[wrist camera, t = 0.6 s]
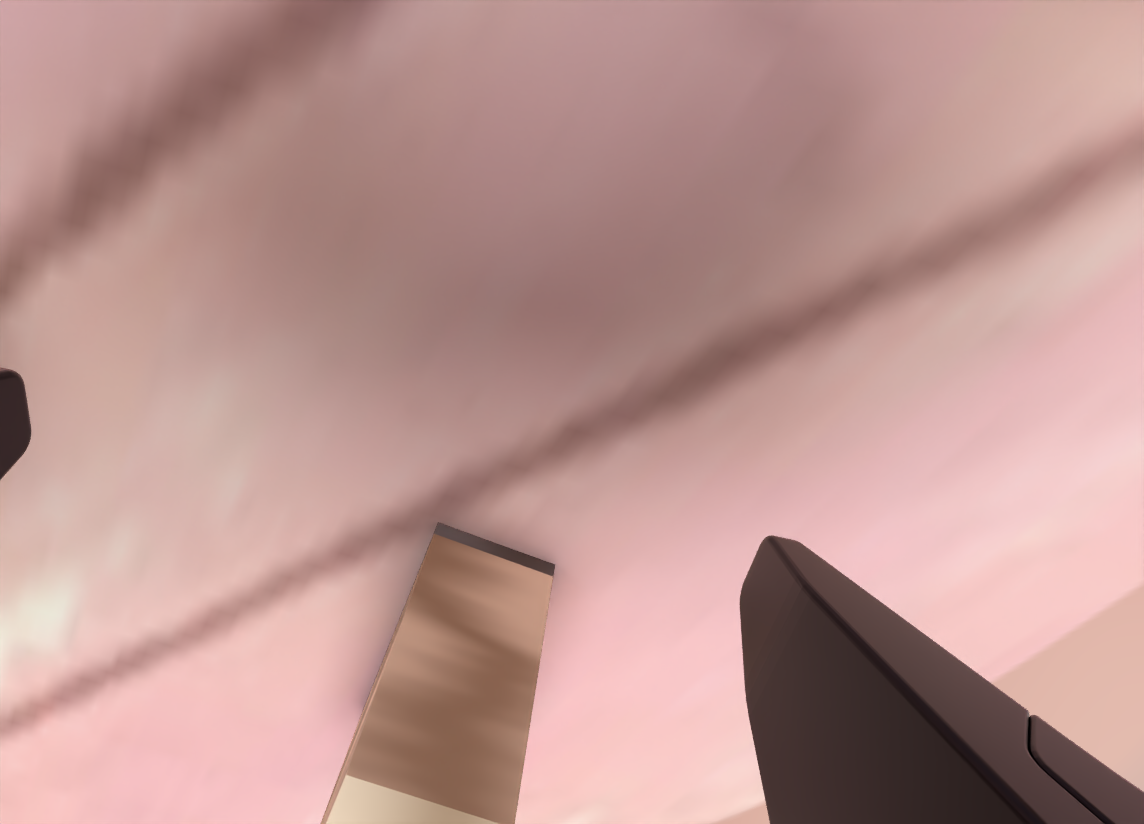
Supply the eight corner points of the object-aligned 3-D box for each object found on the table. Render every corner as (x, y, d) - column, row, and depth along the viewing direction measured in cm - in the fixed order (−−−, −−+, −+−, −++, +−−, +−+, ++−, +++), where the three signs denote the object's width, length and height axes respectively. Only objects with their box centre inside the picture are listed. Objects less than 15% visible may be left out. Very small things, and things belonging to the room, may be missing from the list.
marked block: (363, 708, 31) (266, 969, 23) (438, 521, 26) (346, 774, 18) (462, 741, 31) (399, 1007, 23) (555, 564, 26) (513, 828, 18)
